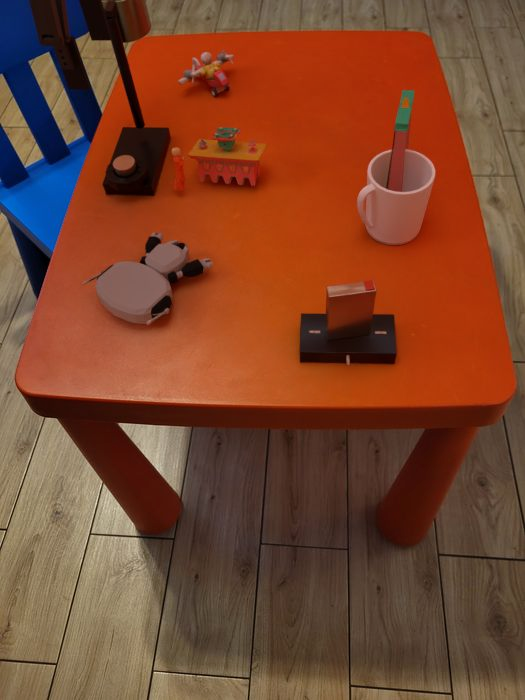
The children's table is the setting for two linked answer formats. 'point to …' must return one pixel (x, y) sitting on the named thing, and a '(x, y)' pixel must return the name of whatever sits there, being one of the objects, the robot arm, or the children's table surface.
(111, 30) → the lamp
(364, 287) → the small card box
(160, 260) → the robot toy
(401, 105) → the building blocks
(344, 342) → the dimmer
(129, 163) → the lamp switch
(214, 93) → the toy airplane
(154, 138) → the lamp base
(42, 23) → the robot arm
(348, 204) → the children's table surface
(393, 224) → the mug
